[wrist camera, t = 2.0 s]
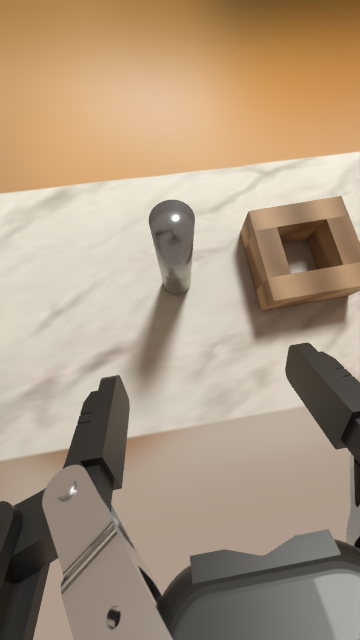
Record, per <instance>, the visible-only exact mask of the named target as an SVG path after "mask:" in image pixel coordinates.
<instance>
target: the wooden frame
mask: <svg viewBox="0 0 360 640" xmlns="http://www.w3.org/2000/svg"><path fill="white" fill-rule="evenodd" d="M240 233H241V237H242V241H243V244H244V248H245V252H246V256H247V259H248V263H249V267H250V271H251V275H252V278H253V282H254V286H255V290H256V294H257V297H258V301H259V305H260V309H261V311H263V310H269V309H274V308H280V307H286V306H292V305H298V304H303V303H309V302H315V301H321V300H326V299H332V298H338V297H344V296H349V295H351V294H353V293H355V292H358V291H360V242H359V240H358V237H357V235H356V232H355V230H354V227H353V225H352V222H351V220H350V217H349V214H348V212H347V209H346V207H345V204H344V202H343V199H342V197H341V196H338V197H332V198H326V199H320V200H314V201H308V202H302V203H296V204H290V205H283V206H277V207H271V208H265V209H259V210H253V211H249V212H248V214H247V217H246V219H245V222H244V224H243V227H242V229H241V232H240ZM305 239H308V242H309V245H310V248H311V251H312V254H313V257H314V260H315V262H316V265H317V268H318V269H317V270H311V271H305V272H299V273H294V274H291V272H290V268H289V265H288V262H287V259H286V255H285V252H284V249H283V246H282V243H287V242H293V241H299V240H305Z"/></svg>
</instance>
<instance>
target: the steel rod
mask: <svg viewBox="0 0 360 640" xmlns="http://www.w3.org/2000/svg"><path fill="white" fill-rule="evenodd" d="M194 223H195V217H194V213H193V211H192V209H191V208H190V207H189V206H188V205H187V204H185V203H184V202H181V201H178V200H166V201H163V202H161V203H159V204H157V205H156V206H155V207H154V208H153V209H152V211H151V213H150V216H149V225H150V229H151V233H152V237H153V242H154V246H155V250H156V254H157V259H158V263H159V267H160V271H161V276H162V280H163V284H164V287H165V289H166V291H167V292H169V293H170V294H173V295H180V294H183V293H185V292H186V291H187V290H188V288H189V286H190V279H191V265H192V251H193V237H194Z"/></svg>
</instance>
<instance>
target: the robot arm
mask: <svg viewBox="0 0 360 640" xmlns="http://www.w3.org/2000/svg"><path fill="white" fill-rule="evenodd" d="M285 371H286V376H287V379H288V381H289V383H290V384H291V385H292V387H293V388H294V390H295V391H296V393H297V394H298V396H299V397H300V398H301V400H302V401H303V403H304V404H305V406H306V407H307V408H308V410H309V412H310V413H311V414H312V416H313V417H314V419H315V420H316V422H317V423H318V424H319V426H320V428H321V429H322V430H323V432H324V433H325V435H326V436H327V438H328V439H329V441H330V442H331V443H332V445H333V446H334V448H335V449H341V448H348V450H349V451H350V452H351V456H350V494H351V510H350V516H349V520H348V525H347V534H346V535H347V536H346V543H345V542H342V541H339V540H335V539H333V537H332V535H331V533H330V531H329V530H328V529H327V530H322V531H317V532H312V533H307V534H302V535H296V536H294V537H292V538H291V539H289V540H288V541H286V542H285V543H283V544H282V545H280V546H279V547H277V548H276V549H274V550H273V551H271V552H270V553H268V554H266V555H264V556H259V555H253V554H247V553H242V552H236V551H230V550H219V551H214V552H209V553H204V554H198V555H193V556H190V562H191V565H190V566H188V567H187V568H186V569H184V570H183V571H182V572H181V573H179V574H178V575H177V576H176V577H175V579H174V580H173V581H172V582H171V583H170V585H169V586H168V588H167V589H166V591H165V592H164V593H163V594H162V592H161V591H160V589H159V587H158V585H157V583H156V582H155V580H154V578H153V576H152V574H151V573H150V571H149V569H148V567H147V566H146V564H145V562H144V561H143V559H142V558H141V556H140V555H139V553H138V551H137V549H136V548H135V546H134V544H133V542H132V541H131V539H130V537H129V535H128V533H127V532H126V530H125V528H124V526H123V524H122V522H121V521H120V519H119V517H118V515H117V513H116V512H115V510H114V508H113V506H112V505H111V500H112V492H113V490H115V489H120V488H122V481H123V480H122V479H123V470H124V459H125V450H126V440H127V430H128V420H129V409H130V407H129V398H128V395H127V393H126V390H125V387H124V385H123V382H122V380H121V377H120V376H119V375H117V376H111V377H105V378H102V379H101V382H100V385H99V389H98V391H93V392H91V393H90V395H89V396H88V397H87V399H86V400H85V401H84V404H83V407H82V410H81V413H80V414H81V416H79V420H78V425H77V426H76V429H75V433H74V436H73V439H72V442H71V446H70V449H69V452H68V455H67V458H66V462H65V464H64V467H63V469H62V470H61V471H59V472H58V473H57V474H56V475H55V476H54V477H53V478H52V479H51V481H50V482H49V484H48V486H47V487H46V488H45V489H44V490H42V491H41V492H39V493H37V494H35V495H33V496H31V497H30V498H28V499H26V500H24V501H22V502H20V503H18V504H16V505H14V506H12V505H11V504H9V503H8V502H5V501H1V502H0V640H33V636H34V632H35V627H36V623H37V618H38V614H39V610H40V605H41V601H42V596H43V591H44V588H45V583H46V579H47V574H48V570H49V565H50V563H51V562H52V561H54V560H55V559H57V558H59V561H60V564H61V567H62V570H63V576H64V579H63V581H62V583H61V593H62V599H63V603H64V607H65V610H66V613H67V617H68V620H69V624H70V627H71V630H72V634H73V638H74V640H360V382H359V381H358V380H357V379H356V378H355V377H352V375H351V374H350V373H349V372H348V371H347V370H346V369H344V367H343V366H342V365H341V364H340V363H339V362H338V361H337V360H336V359H335V358H333V357H331V356H329V355H328V354H326V353H324V352H318V351H317V350H316V349H315V348H314V347H313V346H312V345H311V344H310V343H302V344H296V345H291V346H290V347H289V350H288V356H287V362H286V369H285Z"/></svg>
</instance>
